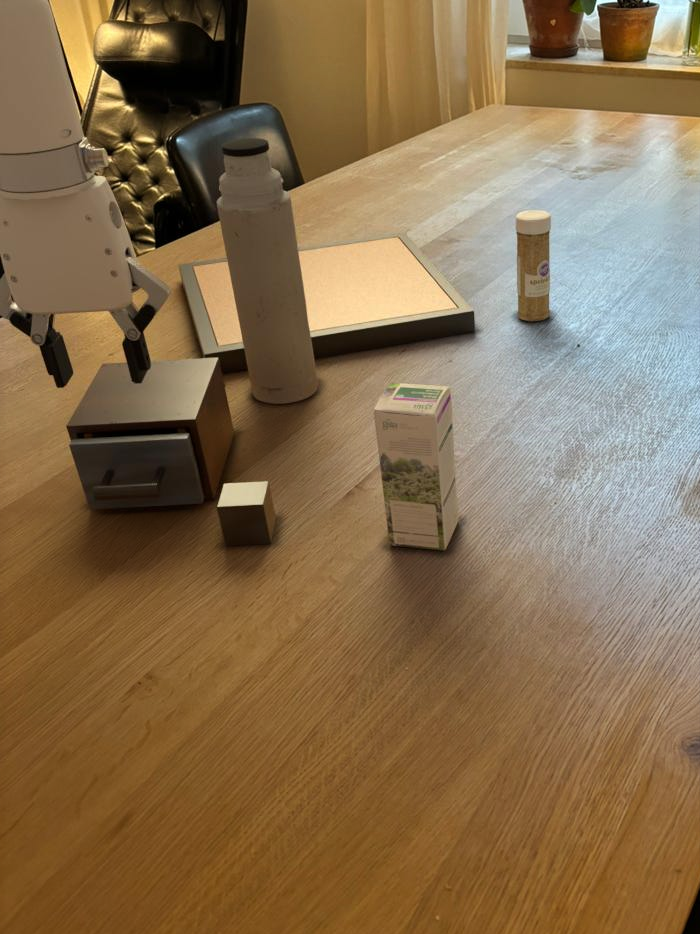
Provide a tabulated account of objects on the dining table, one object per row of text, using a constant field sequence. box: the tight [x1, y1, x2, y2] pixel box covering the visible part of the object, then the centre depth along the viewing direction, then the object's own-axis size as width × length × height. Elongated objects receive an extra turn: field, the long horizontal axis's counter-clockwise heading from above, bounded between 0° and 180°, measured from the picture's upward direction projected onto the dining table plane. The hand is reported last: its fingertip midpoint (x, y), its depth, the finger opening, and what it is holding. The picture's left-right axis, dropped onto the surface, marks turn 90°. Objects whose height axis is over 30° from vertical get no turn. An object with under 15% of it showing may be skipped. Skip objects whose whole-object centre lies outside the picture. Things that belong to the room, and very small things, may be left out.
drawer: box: [68, 427, 205, 511], centre depth 104 cm, size 18×11×7 cm, turn 2°
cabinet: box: [65, 357, 235, 501], centre depth 108 cm, size 15×13×9 cm
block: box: [216, 480, 277, 547], centre depth 99 cm, size 4×4×4 cm
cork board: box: [177, 232, 476, 375], centre depth 145 cm, size 36×3×35 cm
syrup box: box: [373, 382, 460, 551], centre depth 95 cm, size 6×6×14 cm
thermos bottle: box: [216, 137, 319, 405], centre depth 117 cm, size 8×8×28 cm
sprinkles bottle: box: [515, 209, 552, 322], centre depth 136 cm, size 5×5×13 cm
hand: (102, 377), depth 93 cm, fingers open, 6 cm apart
